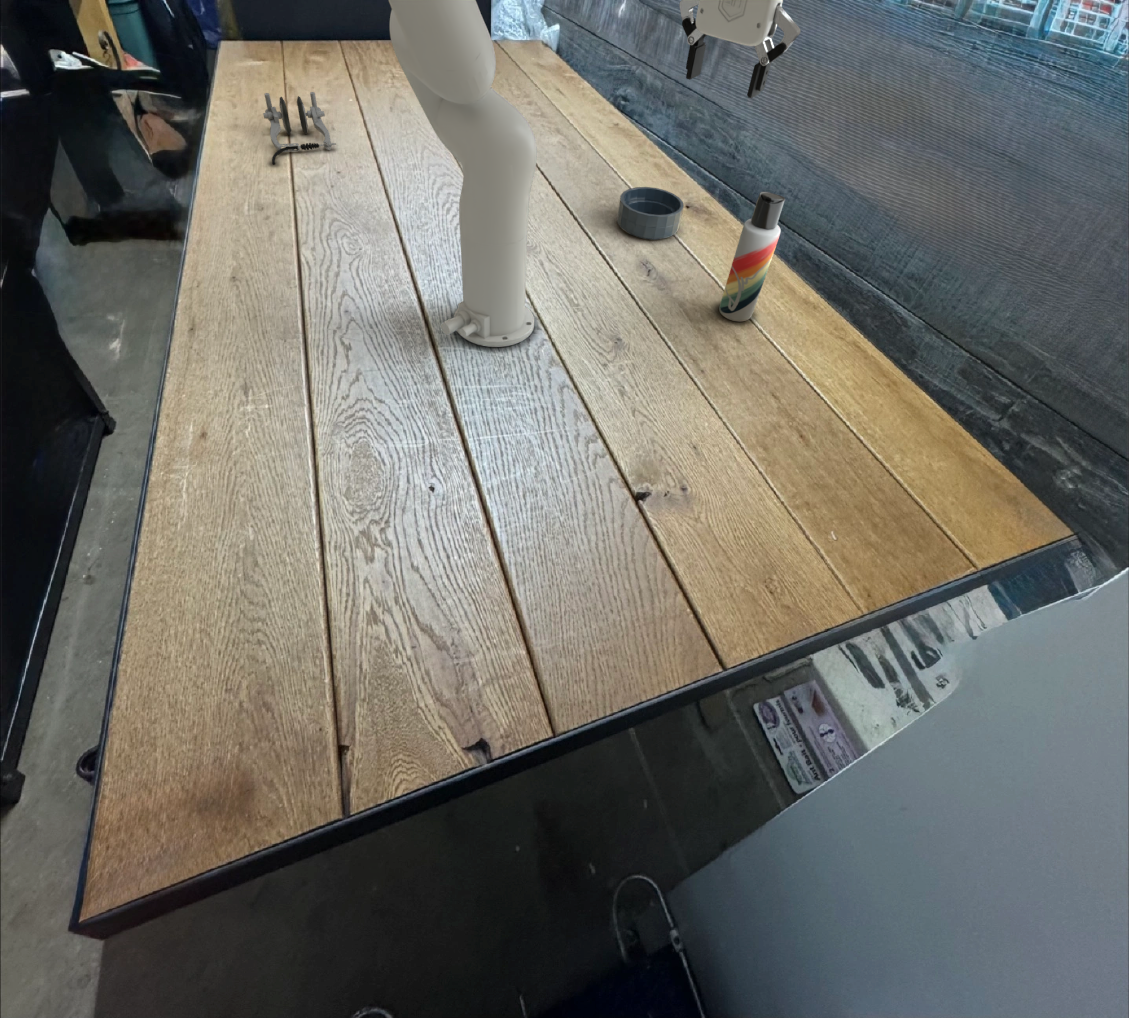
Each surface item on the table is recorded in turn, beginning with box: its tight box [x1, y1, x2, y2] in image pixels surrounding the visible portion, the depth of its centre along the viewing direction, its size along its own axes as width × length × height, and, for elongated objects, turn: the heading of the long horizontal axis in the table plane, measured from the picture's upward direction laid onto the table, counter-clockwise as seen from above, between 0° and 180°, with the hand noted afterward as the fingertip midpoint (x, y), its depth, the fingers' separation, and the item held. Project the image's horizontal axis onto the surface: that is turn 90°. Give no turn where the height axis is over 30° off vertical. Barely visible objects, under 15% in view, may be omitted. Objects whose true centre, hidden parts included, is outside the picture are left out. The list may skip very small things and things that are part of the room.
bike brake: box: [262, 91, 337, 166], centre depth 139 cm, size 14×7×20 cm
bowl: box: [616, 186, 684, 241], centre depth 127 cm, size 12×12×5 cm
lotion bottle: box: [718, 191, 786, 322], centre depth 103 cm, size 6×6×20 cm
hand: (722, 86), depth 93 cm, fingers open, 9 cm apart
